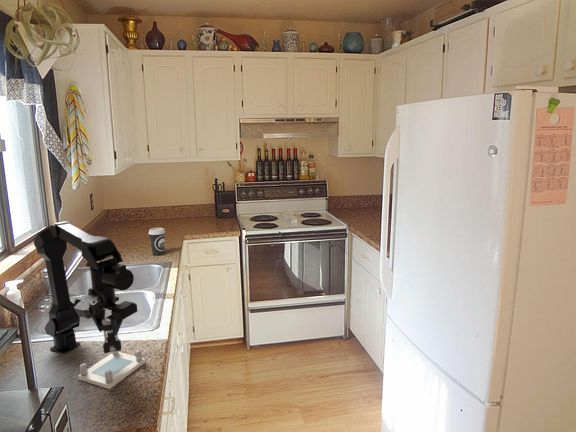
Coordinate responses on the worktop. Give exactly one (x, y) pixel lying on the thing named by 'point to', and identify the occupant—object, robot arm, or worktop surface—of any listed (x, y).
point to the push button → (109, 337)
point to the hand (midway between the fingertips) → (108, 332)
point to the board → (111, 369)
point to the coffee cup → (157, 241)
